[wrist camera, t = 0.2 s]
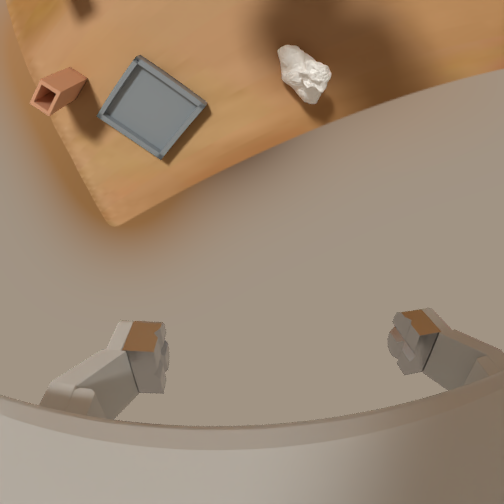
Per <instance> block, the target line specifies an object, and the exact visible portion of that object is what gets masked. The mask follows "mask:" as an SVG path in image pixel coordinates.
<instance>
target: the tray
mask: <svg viewBox="0 0 504 504" xmlns="http://www.w3.org/2000/svg"><path fill="white" fill-rule="evenodd" d="M206 105H207V102H206V101H205V100H203V99H202V98H201V97H199V96H198V95H197V94H195V93H194V92H193V91H191V90H190V89H188V88H187V87H186V86H184V85H183V84H182V83H180V82H179V81H177V80H176V79H175V78H173V77H172V76H170V75H169V74H168V73H166V72H165V71H163V70H162V69H160V68H159V67H157V66H156V65H155V64H153V63H152V62H150V61H149V60H147V59H146V58H144V57H143V56H141V55H139V56H136V57H135V59H134V60H133V62H132V63H131V64H130V66H129V67H128V68H127V70H126V71H125V73H124V74H123V76H122V77H121V79H120V80H119V81H118V83H117V84H116V86H115V87H114V89H113V90H112V92H111V94H110V95H109V97H108V98H107V100H106V101H105V103H104V105H103V106H102V108H101V109H100V111H99V113H98V114H97V117H98V118H100V119H101V120H103V121H104V122H106V123H107V124H109V125H110V126H112V127H113V128H115V129H116V130H118V131H119V132H121V133H122V134H124V135H125V136H127V137H128V138H130V139H131V140H133V141H134V142H135V143H137V144H138V145H140V146H141V147H143V148H144V149H146V150H147V151H149V152H150V153H152V154H153V155H155V156H156V157H157V158H159V159H160V160H161V159H162V158H163V157H164V155H165V154H166V153H167V152H168V150H169V149H170V148H171V147H172V145H173V144H174V143H175V142H176V140H177V139H178V138H179V137H180V136H181V134H182V133H183V132H184V131H185V130H186V128H187V127H188V126H189V125H190V124H191V122H192V121H193V120H194V119H195V118H196V117H197V115H198V114H199V113H200V112H201V111H202V110H203V109H204V108H205V106H206Z"/></svg>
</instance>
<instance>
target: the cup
mask: <svg viewBox="0 0 504 504" xmlns="http://www.w3.org/2000/svg"><path fill="white" fill-rule="evenodd" d="M87 79H88V78H86V77H85V76H83V75H82V74H80V73H79V72H77V71H75V70H74V69H72V68H71V67H68V68H66V69H63V70H61V71H59V72H56V73H54V74H51V75H49V76H47V77H44V78H42V79H40V81H39V84H38V86H37V88H36V90H35V92H34V95H33V97H32V99H31V101H30V104H31V105H33V106H34V107H36V108H37V109H39V110H40V111H42V112H44V113H45V114H47V115H48V116H50V115H52V114H53V113H55V112H56V111H58V110H59V109H61V108H62V107H64V106H65V105H67V104H69V103H70V102H72V101H73V100H75V99H76V98H77V96H78V94H79V93H80V91H81V89H82V87H83V86H84V84H85V82H86V81H87Z"/></svg>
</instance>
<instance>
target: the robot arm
mask: <svg viewBox="0 0 504 504" xmlns="http://www.w3.org/2000/svg"><path fill="white" fill-rule="evenodd" d="M393 324H394V326H395V327H394V328H393V329H392V330H391V331H390V333H389V336H388V348H389V351H390V353H391V355H392V356H394V357H395V358H397V359H398V361H397V364H398V366H399V367H400V369H401V371H402V372H403V374H404V375H408V374H413V373H418V372H423V373H424V374H425V375H427V376H428V377H430V378H431V379H432V380H434V381H435V382H437V383H438V384H440V385H441V386H442V387H444V388H446V389H447V390H448V391H446V392H443V393H439V394H436V395H433V396H429V397H426V398H423V399H419V400H415V401H411V402H407V403H403V404H399V405H395V406H390V407H386V408H381V409H376V410H371V411H367V412H361V413H356V414H350V415H344V416H339V417H332V418H325V419H317V420H309V421H301V422H291V423H280V424H268V425H267V424H266V425H247V426H182V425H162V424H149V423H139V422H129V421H120V420H114V419H115V418H116V416H118V414H119V413H120V412H121V411H122V410H123V409H124V408H125V407H126V406H127V405H128V404H129V403H130V402H131V401H132V400H133V399H134V398H135V397H136V396H137V395H138V394H139V393H164V388H165V383H166V376H165V372H166V371H167V370H168V366H169V347H168V343H167V342H166V341H165V335H166V329H165V324H164V323H163V322H146V321H127V320H122V321H119V323H118V325H117V327H116V329H115V331H114V333H113V335H112V338H111V340H110V342H109V344H108V346H107V349H106V350H105V349H102V350H100V351H99V352H97V353H95V354H94V355H93V356H91V357H89V358H88V359H86V360H85V361H83V362H81V363H80V364H78V365H77V366H75V367H73V368H72V369H70V370H69V371H67V372H65V373H64V374H62V375H61V376H59V377H58V378H56V379H54V380H53V381H51V383H50V385H49V387H48V389H47V391H46V393H45V394H44V396H43V398H42V400H41V403H40V405H34V404H31V403H27V402H23V401H20V400H16V399H13V398H9V397H6V396H3V395H0V504H504V353H503V352H502V351H501V350H500V349H498V348H496V347H493V346H491V345H489V344H486V343H484V342H482V341H479V340H477V339H475V338H473V337H471V336H468V335H466V334H464V333H462V332H459V331H457V330H452V329H451V328H450V327H449V326H448V325H447V324H446V323H445V322H444V321H443V320H442V319H441V318H440V317H439V315H438V314H437V313H436V312H435V311H434V310H433V309H431V308H425V309H419V310H413V311H406V312H398V313H396V315H395V316H394V319H393Z"/></svg>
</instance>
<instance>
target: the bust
mask: <svg viewBox="0 0 504 504" xmlns="http://www.w3.org/2000/svg"><path fill="white" fill-rule="evenodd" d="M277 52H278V57H279V60H280V63H281V64H280V66H281V72H282V73H281V74H282V80H283V81H284V82H285V83H286V84H288V85H289V86H291V87H292V88H293V89H294V90H295V92H296V93H297V94H298V95H299V97H300V98H301V99H302V100H303V101H304V102H308V103H309V104H316V103H317V101H318V99H319V97H320V96H321V93H322V92H324V90H325V89H326V87H327V82H328V81H329V80H330V78H331V71H330V70H329V67H328V66H327V65H324V64H323V63H321V62H316V60H314V58H313V57H311V56H310V55H308V54H307V53H304V51H303V50H300V48H299V47H298V46H296V45H293V46H292V45H284V46H282V47H281V48H279V49H278V51H277Z"/></svg>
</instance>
